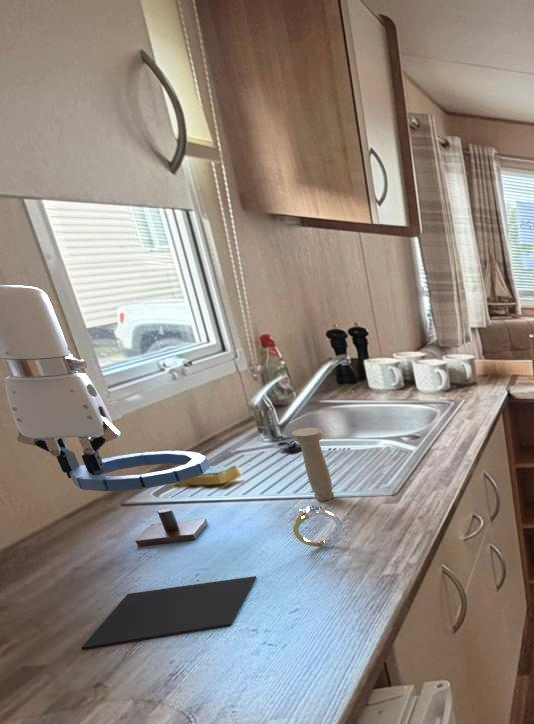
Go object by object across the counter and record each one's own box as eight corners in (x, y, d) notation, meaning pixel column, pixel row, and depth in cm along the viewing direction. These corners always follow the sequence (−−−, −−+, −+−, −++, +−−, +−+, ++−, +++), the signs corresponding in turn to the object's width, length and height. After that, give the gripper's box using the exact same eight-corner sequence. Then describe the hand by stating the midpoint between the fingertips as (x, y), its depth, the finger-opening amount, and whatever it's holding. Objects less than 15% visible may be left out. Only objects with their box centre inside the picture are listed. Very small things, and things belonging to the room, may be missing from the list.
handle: (310, 505, 135) (291, 436, 129) (312, 495, 140) (293, 429, 133) (338, 502, 137) (320, 434, 131) (339, 492, 142) (321, 426, 136)
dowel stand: (137, 546, 114) (126, 521, 112) (153, 529, 121) (143, 505, 119) (195, 540, 118) (185, 515, 116) (208, 523, 124) (199, 500, 122)
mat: (82, 650, 87) (81, 647, 87) (128, 595, 100) (127, 593, 100) (231, 625, 94) (230, 623, 94) (256, 578, 107) (255, 575, 106)
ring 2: (298, 553, 115) (286, 512, 112) (301, 546, 118) (289, 506, 114) (345, 546, 118) (334, 507, 115) (346, 540, 121) (335, 501, 118)
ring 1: (55, 495, 103) (50, 484, 102) (100, 465, 117) (96, 454, 116) (192, 485, 111) (188, 474, 110) (219, 457, 124) (216, 448, 124)
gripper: (117, 362, 109) (155, 465, 117) (-17, 364, 102) (32, 472, 110) (98, 370, 103) (139, 477, 111) (-45, 372, 96) (9, 486, 104)
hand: (86, 474), depth 110 cm, fingers closed on ring 1, 2 cm apart
